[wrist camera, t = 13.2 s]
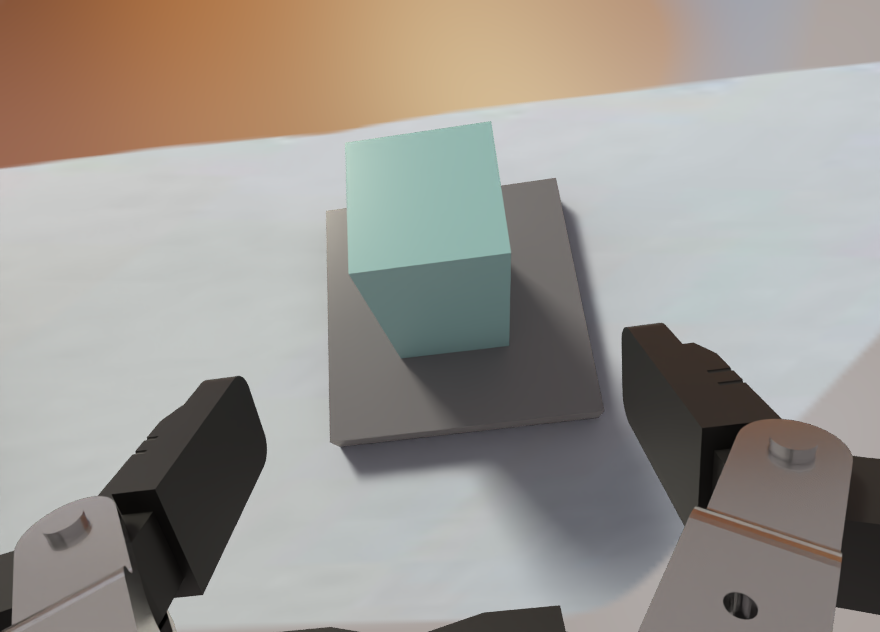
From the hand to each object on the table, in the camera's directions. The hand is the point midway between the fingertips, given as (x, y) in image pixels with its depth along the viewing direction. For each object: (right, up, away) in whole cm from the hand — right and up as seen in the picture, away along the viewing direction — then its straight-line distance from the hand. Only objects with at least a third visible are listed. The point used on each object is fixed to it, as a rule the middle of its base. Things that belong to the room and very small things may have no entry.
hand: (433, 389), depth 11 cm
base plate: (+1, +2, +16) cm, 16 cm away
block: (+1, +2, +14) cm, 14 cm away
